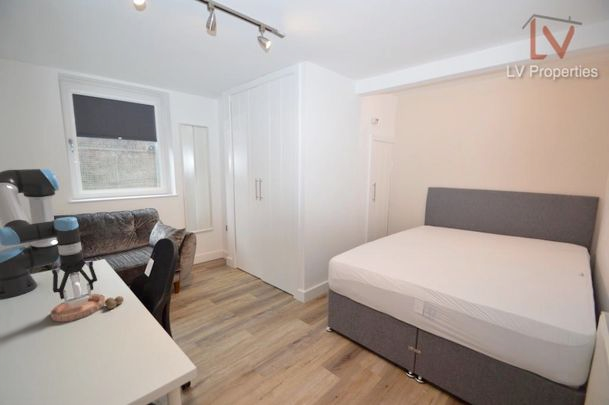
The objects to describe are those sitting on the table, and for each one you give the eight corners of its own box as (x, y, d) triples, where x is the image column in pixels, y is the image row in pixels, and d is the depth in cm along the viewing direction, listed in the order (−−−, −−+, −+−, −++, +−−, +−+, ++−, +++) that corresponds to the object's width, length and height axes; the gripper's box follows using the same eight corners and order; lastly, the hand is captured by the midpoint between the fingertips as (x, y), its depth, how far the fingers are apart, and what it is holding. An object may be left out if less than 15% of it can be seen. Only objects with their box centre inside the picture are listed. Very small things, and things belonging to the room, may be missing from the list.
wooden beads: (104, 305, 120) (103, 298, 119) (121, 299, 125) (120, 292, 124) (108, 311, 115) (107, 303, 114) (126, 304, 120) (125, 297, 119)
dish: (49, 311, 116) (48, 305, 115) (100, 295, 129) (100, 290, 129) (54, 328, 103) (52, 321, 103) (110, 308, 117) (109, 302, 117)
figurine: (69, 312, 110) (63, 279, 108) (67, 304, 117) (62, 273, 115) (90, 305, 115) (85, 274, 113) (88, 298, 122) (83, 268, 120)
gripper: (38, 261, 102) (47, 314, 106) (101, 248, 117) (108, 294, 121) (37, 257, 107) (46, 307, 111) (98, 245, 122) (104, 289, 126)
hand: (78, 300), depth 116 cm, fingers closed on figurine, 7 cm apart
